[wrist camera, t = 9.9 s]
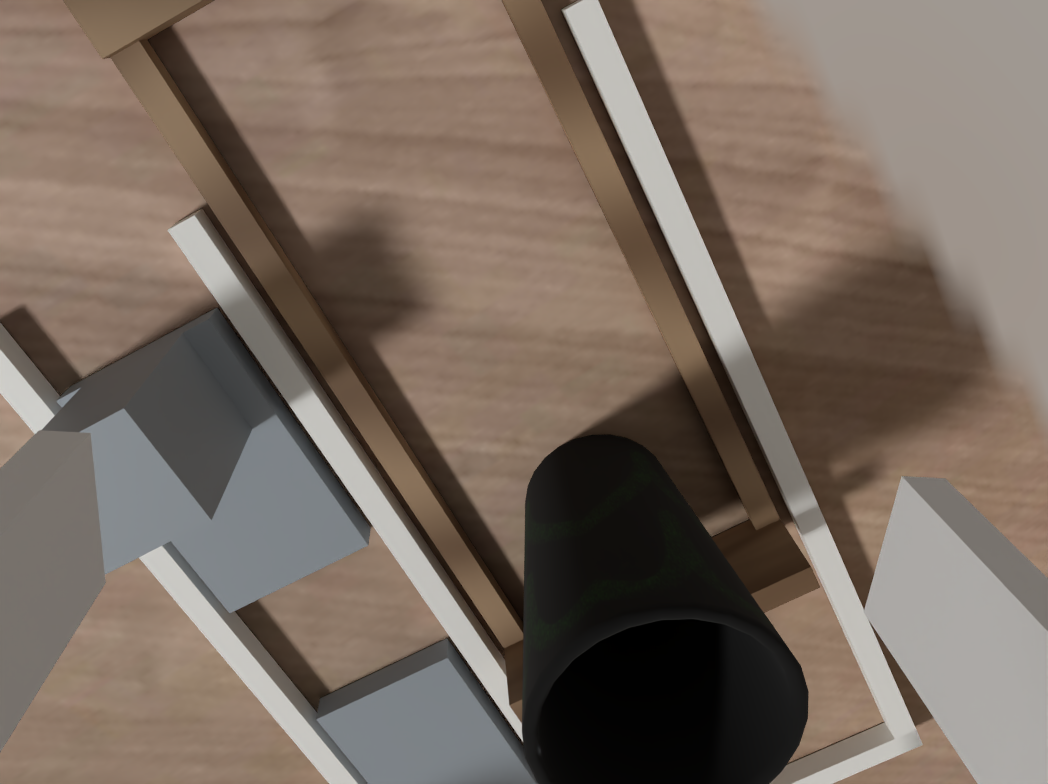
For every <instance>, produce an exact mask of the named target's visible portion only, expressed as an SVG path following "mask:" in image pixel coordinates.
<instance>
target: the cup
mask: <svg viewBox="0 0 1048 784" xmlns="http://www.w3.org/2000/svg"><path fill="white" fill-rule="evenodd" d="M807 719H808V688H807V685H806V682H805V678H804V675H803V672H802V668H801V666H800V664H799V663H798V661H797V660H796V658H795V657H794V655H793V654H792V653H791V651H790V650H789V648H788V647H787V645H786V644H785V642H784V641H783V640H782V638H781V637H780V635H779V634H778V632H777V631H776V629H775V628H774V627H773V625H772V624H771V622H770V621H769V619H768V618H767V617H766V615H765V614H764V612H763V611H762V609H761V608H760V607H759V605H758V604H757V602H756V601H755V599H754V598H753V596H752V595H751V594H750V592H749V591H748V589H747V588H746V586H745V585H744V584H743V582H742V581H741V579H740V578H739V576H738V575H737V574H736V572H735V571H734V569H733V568H732V566H731V565H730V563H729V562H728V561H727V559H726V558H725V556H724V555H723V553H722V552H721V551H720V549H719V548H718V546H717V545H716V543H715V542H714V540H713V539H712V538H711V536H710V535H709V533H708V532H707V530H706V529H705V528H704V526H703V525H702V523H701V522H700V520H699V519H698V518H697V516H696V515H695V513H694V512H693V510H692V509H691V507H690V506H689V505H688V503H687V502H686V500H685V499H684V497H683V496H682V495H681V493H680V492H679V490H678V489H677V487H676V486H675V484H674V483H673V482H672V480H671V479H670V477H669V476H668V474H667V473H666V472H665V470H664V469H663V467H662V466H661V464H660V463H659V462H658V460H657V459H656V457H655V456H654V455H653V454H652V453H651V452H649V451H648V450H647V449H646V448H645V447H643V446H642V445H640V444H638V443H636V442H634V441H632V440H630V439H628V438H623V437H618V436H614V435H591V436H587V437H582V438H578V439H574V440H572V441H570V442H568V443H566V444H564V445H562V446H560V447H558V448H557V449H556V450H554V451H553V452H552V453H551V454H549V455H548V456H547V457H546V458H545V459H544V460H543V461H542V462H541V464H540V465H539V466H538V467H537V469H536V470H535V471H534V474H533V476H532V478H531V480H530V482H529V485H528V488H527V495H526V501H525V561H524V624H523V687H522V737H523V744H524V752H525V759H526V761H527V763H528V765H529V767H530V769H531V771H532V773H533V775H534V777H535V779H536V781H537V783H538V784H770V783H771V782H772V781H773V780H774V779H775V778H776V777H777V776H778V775H779V774H780V773H781V772H782V771H783V769H784V768H785V766H786V765H787V763H788V761H789V760H790V758H791V757H792V755H793V754H794V752H795V751H796V749H797V747H798V746H799V744H800V741H801V738H802V735H803V732H804V728H805V725H806V722H807Z"/></svg>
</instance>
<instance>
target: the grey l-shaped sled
mask: <svg viewBox="0 0 1048 784" xmlns="http://www.w3.org/2000/svg"><path fill="white" fill-rule="evenodd" d="M57 403H58V404H59V405H60V406H61V407H62V408H61V410H60V411H59V412H58V413H57V414H56V415H55V416H54V417H53V418H52V419H51V420H50V421H49V422H48V423H47V425H46V426H45V427H44V428H43V429H42V430H44V431H63V432H82V433H91V442H92V452H93V462H94V472H95V482H96V492H97V502H98V512H99V522H100V532H101V542H102V552H103V562H104V572H105V574H107V573H109V572H111V571H113V570H115V569H117V568H119V567H121V566H123V565H125V564H127V563H129V562H131V561H133V560H135V559H137V558H139V557H141V556H143V555H145V554H146V553H148V552H150V551H152V550H154V549H156V548H158V547H160V546H162V545H164V544H166V543H168V542H170V541H171V542H172V543H173V545H174V546H175V547H176V548H177V550H178V551H179V552H180V553H181V554H182V556H183V557H184V558H185V559H186V561H187V562H188V563H189V564H190V566H191V567H192V568H193V569H194V570H195V572H196V573H197V574H198V575H199V577H200V578H201V579H202V580H203V581H204V583H205V584H206V585H207V586H208V588H209V589H210V590H211V591H212V592H213V594H214V595H215V596H216V597H217V599H218V600H219V601H220V602H221V603H222V605H223V606H224V607H225V608H226V610H227V611H228V612H229V613H232V612H234V611H236V610H238V609H240V608H242V607H244V606H246V605H248V604H250V603H252V602H254V601H256V600H258V599H260V598H262V597H264V596H266V595H268V594H270V593H272V592H274V591H276V590H278V589H280V588H282V587H285V586H287V585H289V584H291V583H293V582H295V581H297V580H299V579H301V578H303V577H305V576H307V575H309V574H311V573H313V572H315V571H317V570H319V569H321V568H323V567H325V566H327V565H329V564H331V563H333V562H335V561H337V560H339V559H341V558H343V557H345V556H348V555H350V554H352V553H354V552H356V551H358V550H360V549H362V548H364V547H366V546H368V543H369V536H370V529H371V528H370V526H369V525H368V524H367V522H366V521H365V519H364V518H363V516H362V515H361V514H360V512H359V511H358V509H357V508H356V506H355V505H354V503H353V502H352V501H351V499H350V498H349V496H348V495H347V493H346V492H345V491H344V489H343V488H342V486H341V485H340V483H339V482H338V480H337V479H336V478H335V476H334V475H333V473H332V472H331V470H330V469H329V468H328V466H327V465H326V463H325V462H324V460H323V459H322V457H321V456H320V455H319V453H318V452H317V450H316V449H315V447H314V446H313V445H312V443H311V442H310V440H309V439H308V437H307V436H306V435H305V433H304V432H303V430H302V429H301V427H300V426H299V424H298V423H297V422H296V420H295V419H294V417H293V416H292V414H291V413H290V412H289V410H288V409H287V407H286V406H285V404H284V403H283V401H282V400H281V399H280V397H279V396H278V394H277V393H276V391H275V390H274V389H273V387H272V386H271V384H270V383H269V381H268V380H267V378H266V377H265V376H264V374H263V373H262V371H261V370H260V368H259V367H258V366H257V364H256V363H255V361H254V360H253V358H252V357H251V356H250V354H249V353H248V351H247V350H246V348H245V347H244V345H243V344H242V343H241V341H240V340H239V338H238V337H237V335H236V334H235V333H234V331H233V330H232V328H231V327H230V325H229V324H228V322H227V321H226V320H225V318H224V317H223V315H222V314H221V312H220V311H219V310H218V308H215V309H213V310H211V311H210V312H208V313H206V314H204V315H202V316H200V317H198V318H197V319H195V320H193V321H191V322H189V323H187V324H185V325H184V326H182V327H180V328H178V329H176V330H174V331H172V332H171V333H169V334H167V335H165V336H163V337H161V338H159V339H158V340H156V341H154V342H152V343H150V344H148V345H146V346H145V347H143V348H141V349H139V350H137V351H135V352H133V353H132V354H130V355H128V356H126V357H124V358H122V359H120V360H119V361H117V362H115V363H113V364H111V365H109V366H107V367H106V368H104V369H102V370H100V371H98V372H96V373H94V374H93V375H91V376H89V377H87V378H85V379H83V380H81V381H80V382H78V383H76V384H74V385H72V386H70V387H69V388H68V389H67V390H66V391H65V392H64V393H63V394H62V395H61V396H60V397H59V398H58V399H57Z"/></svg>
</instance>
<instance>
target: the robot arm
mask: <svg viewBox="0 0 1048 784" xmlns="http://www.w3.org/2000/svg"><path fill="white" fill-rule="evenodd" d="M105 583H106V582H105V572H104V562H103V552H102V542H101V532H100V522H99V512H98V502H97V492H96V482H95V472H94V462H93V452H92V442H91V433H82V432H63V431H44V430H39V431H38V432H37V433H36V434H35V435H34V436H33V437H32V438H31V439H30V440H29V441H28V442H27V443H26V444H25V445H24V446H23V447H22V448H21V449H20V450H19V451H18V452H17V453H16V454H15V455H14V456H13V457H12V458H11V459H10V460H9V461H8V462H6V463H5V464H4V465H3V466H2V467H1V468H0V752H1V750H2V749H3V747H4V745H5V744H6V742H7V741H8V739H9V737H10V736H11V734H12V733H13V731H14V729H15V728H16V726H17V725H18V723H19V721H20V720H21V718H22V716H23V715H24V713H25V712H26V710H27V708H28V707H29V705H30V704H31V702H32V700H33V699H34V697H35V696H36V694H37V692H38V691H39V689H40V688H41V686H42V684H43V683H44V681H45V679H46V678H47V676H48V675H49V673H50V671H51V670H52V668H53V667H54V665H55V663H56V662H57V660H58V659H59V657H60V655H61V654H62V652H63V651H64V649H65V647H66V646H67V644H68V643H69V641H70V639H71V638H72V636H73V634H74V633H75V631H76V630H77V628H78V626H79V625H80V623H81V622H82V620H83V618H84V617H85V615H86V614H87V612H88V610H89V609H90V607H91V606H92V604H93V602H94V601H95V599H96V597H97V596H98V594H99V593H100V591H101V589H102V588H103V586H104V585H105ZM864 614H865V615H866V617H867V618H868V620H869V621H870V623H871V624H872V626H873V627H874V629H875V630H876V632H877V633H878V635H879V636H880V638H881V639H882V641H883V642H884V644H885V645H886V647H887V648H888V650H889V651H890V653H891V654H892V656H893V657H894V659H895V660H896V662H897V663H898V665H899V666H900V668H901V669H902V671H903V672H904V674H905V675H906V677H907V678H908V680H909V681H910V683H911V684H912V686H913V687H914V689H915V690H916V692H917V693H918V695H919V696H920V698H921V699H922V701H923V702H924V704H925V705H926V707H927V708H928V710H929V711H930V713H931V714H932V716H933V717H934V719H935V720H936V722H937V723H938V725H939V726H940V728H941V729H942V731H943V732H944V734H945V735H946V737H947V738H948V740H949V741H950V743H951V744H952V746H953V747H954V749H955V750H956V752H957V753H958V755H959V756H960V758H961V759H962V761H963V762H964V764H965V765H966V767H967V768H968V770H969V771H970V773H971V774H972V776H973V777H974V779H975V780H976V782H977V783H978V784H1048V578H1047V577H1046V576H1045V575H1044V574H1043V573H1042V572H1041V571H1040V570H1039V569H1038V568H1037V567H1036V566H1035V565H1034V564H1032V563H1031V562H1030V561H1029V560H1028V559H1027V558H1026V557H1025V556H1024V555H1023V554H1022V553H1021V552H1020V551H1019V550H1018V549H1017V548H1016V547H1015V546H1014V545H1013V544H1012V543H1011V542H1010V541H1009V540H1008V539H1007V538H1006V537H1005V536H1004V535H1003V534H1002V533H1001V532H1000V531H999V530H998V529H997V528H995V527H994V526H993V525H992V524H991V523H990V522H989V521H988V520H987V519H986V518H985V517H984V516H983V515H982V514H981V513H980V512H979V511H978V510H977V509H976V508H975V507H974V506H973V505H972V504H971V503H970V502H969V501H968V500H967V499H966V498H965V497H964V496H963V495H962V494H961V493H960V492H958V491H957V490H956V489H955V488H954V487H953V486H952V485H951V484H950V483H949V482H948V481H947V480H946V479H945V478H926V477H908V476H902V477H901V481H900V484H899V488H898V491H897V495H896V498H895V502H894V506H893V509H892V513H891V516H890V520H889V523H888V527H887V531H886V534H885V538H884V541H883V545H882V548H881V552H880V556H879V559H878V563H877V566H876V570H875V573H874V577H873V581H872V584H871V588H870V591H869V595H868V598H867V602H866V606H865V609H864Z"/></svg>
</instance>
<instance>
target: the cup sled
mask: <svg viewBox="0 0 1048 784" xmlns="http://www.w3.org/2000/svg"><path fill="white" fill-rule="evenodd" d="M63 1H64V3H65V4H66V6H67V7H68V9H69V10H70V12H71V13H72V15H73V16H74V18H75V19H76V21H77V22H78V24H79V25H80V27H81V28H82V30H83V31H84V33H85V34H86V36H87V37H88V39H89V40H90V42H91V43H92V44H93V46H94V47H95V49H96V50H97V52H98V53H99V55H100V56H101V58H102V59H105V58H111V59H112V61H113V62H114V64H115V65H116V67H117V68H118V70H119V71H120V73H121V74H122V76H123V77H124V79H125V80H126V82H127V83H128V85H129V86H130V88H131V89H132V91H133V92H134V94H135V95H136V97H137V98H138V100H139V101H140V103H141V104H142V106H143V107H144V109H145V110H146V112H147V113H148V115H149V116H150V118H151V119H152V121H153V122H154V124H155V125H156V127H157V128H158V130H159V131H160V133H161V134H162V136H163V137H164V139H165V140H166V142H167V143H168V145H169V146H170V148H171V149H172V151H173V152H174V154H175V155H176V157H177V158H178V160H179V161H180V163H181V164H182V166H183V167H184V169H185V170H186V172H187V173H188V175H189V176H190V178H191V179H192V181H193V182H194V184H195V185H196V187H197V188H198V190H199V191H200V193H201V194H202V196H203V197H204V199H205V200H206V202H207V203H208V205H209V206H210V208H211V209H212V211H213V212H214V214H215V215H216V217H217V218H218V220H219V221H220V223H221V224H222V226H223V227H224V229H225V230H226V232H227V233H228V235H229V236H230V238H231V239H232V241H233V242H234V244H235V245H236V247H237V248H238V250H239V251H240V253H241V254H242V256H243V257H244V259H245V260H246V262H247V263H248V265H249V266H250V268H251V269H252V271H253V272H254V274H255V275H256V277H257V278H258V280H259V281H260V283H261V284H262V286H263V287H264V289H265V290H266V292H267V293H268V295H269V296H270V298H271V299H272V301H273V302H274V304H275V305H276V307H277V308H278V310H279V311H280V313H281V314H282V316H283V317H284V319H285V320H286V322H287V323H288V325H289V326H290V328H291V329H292V331H293V332H294V334H295V335H296V337H297V338H298V340H299V341H300V343H301V344H302V346H303V347H304V349H305V350H306V352H307V353H308V355H309V356H310V358H311V359H312V361H313V362H314V364H315V365H316V367H317V368H318V370H319V371H320V373H321V374H322V376H323V377H324V379H325V380H326V382H327V383H328V385H329V387H330V388H331V390H332V391H333V393H334V394H335V396H336V397H337V399H338V400H339V402H340V403H341V405H342V406H343V408H344V409H345V411H346V412H347V414H348V415H349V417H350V418H351V420H352V421H353V423H354V424H355V426H356V427H357V429H358V430H359V432H360V433H361V435H362V436H363V438H364V439H365V441H366V442H367V444H368V445H369V447H370V448H371V450H372V451H373V453H374V454H375V456H376V457H377V459H378V460H379V462H380V463H381V465H382V466H383V468H384V469H385V471H386V472H387V474H388V475H389V477H390V478H391V480H392V481H393V483H394V484H395V486H396V487H397V489H398V490H399V492H400V493H401V495H402V496H403V498H404V499H405V501H406V502H407V504H408V505H409V507H410V508H411V510H412V511H413V513H414V514H415V516H416V517H417V519H418V520H419V522H420V523H421V525H422V526H423V528H424V529H425V531H426V532H427V534H428V535H429V537H430V538H431V540H432V541H433V543H434V544H435V546H436V547H437V549H438V550H439V552H440V553H441V555H442V556H443V558H444V559H445V561H446V562H447V564H448V565H449V567H450V568H451V570H452V571H453V573H454V574H455V576H456V577H457V579H458V580H459V582H460V583H461V585H462V586H463V588H464V589H465V591H466V592H467V594H468V595H469V597H470V598H471V600H472V601H473V603H474V604H475V606H476V607H477V609H478V610H479V612H480V613H481V615H482V616H483V618H484V619H485V621H486V622H487V624H488V625H489V627H490V628H491V630H492V631H493V633H494V634H495V636H496V637H497V639H498V640H499V642H500V643H501V645H502V646H503V648H504V654H505V665H506V676H507V687H508V698H509V706H510V707H511V709H512V710H513V712H514V713H515V714H516V716H517V717H518V719H519V720H520V722H521V723H522V687H523V622H522V621H521V619H520V618H519V616H518V614H517V613H516V611H515V610H514V608H513V607H512V605H511V604H510V602H509V600H508V599H507V597H506V596H505V594H504V593H503V591H502V590H501V588H500V587H499V585H498V583H497V582H496V580H495V579H494V577H493V576H492V574H491V573H490V571H489V569H488V568H487V566H486V565H485V563H484V562H483V560H482V559H481V557H480V555H479V554H478V552H477V551H476V549H475V548H474V546H473V545H472V543H471V542H470V540H469V538H468V537H467V535H466V534H465V532H464V531H463V529H462V528H461V526H460V524H459V523H458V521H457V520H456V518H455V517H454V515H453V514H452V512H451V510H450V509H449V507H448V506H447V504H446V503H445V501H444V500H443V498H442V497H441V495H440V493H439V492H438V490H437V489H436V487H435V486H434V484H433V483H432V481H431V479H430V478H429V476H428V475H427V473H426V472H425V470H424V469H423V467H422V465H421V464H420V462H419V461H418V459H417V458H416V456H415V455H414V453H413V452H412V450H411V448H410V447H409V445H408V444H407V442H406V441H405V439H404V438H403V436H402V434H401V433H400V431H399V430H398V428H397V427H396V425H395V424H394V422H393V420H392V419H391V417H390V416H389V414H388V413H387V411H386V410H385V408H384V407H383V405H382V403H381V402H380V400H379V399H378V397H377V396H376V394H375V393H374V391H373V389H372V388H371V386H370V385H369V383H368V382H367V380H366V379H365V377H364V375H363V374H362V372H361V371H360V369H359V368H358V366H357V365H356V363H355V362H354V360H353V358H352V357H351V355H350V354H349V352H348V351H347V349H346V348H345V346H344V344H343V343H342V341H341V340H340V338H339V337H338V335H337V334H336V332H335V330H334V329H333V327H332V326H331V324H330V323H329V321H328V320H327V318H326V317H325V315H324V313H323V312H322V310H321V309H320V307H319V306H318V304H317V303H316V301H315V299H314V298H313V296H312V295H311V293H310V292H309V290H308V289H307V287H306V285H305V284H304V282H303V281H302V279H301V278H300V276H299V275H298V273H297V271H296V270H295V268H294V267H293V265H292V264H291V262H290V261H289V259H288V258H287V256H286V254H285V253H284V251H283V250H282V248H281V247H280V245H279V244H278V242H277V240H276V239H275V237H274V236H273V234H272V233H271V231H270V230H269V228H268V226H267V225H266V223H265V222H264V220H263V219H262V217H261V216H260V214H259V213H258V211H257V209H256V208H255V206H254V205H253V203H252V202H251V200H250V199H249V197H248V195H247V194H246V192H245V191H244V189H243V188H242V186H241V185H240V183H239V181H238V180H237V178H236V177H235V175H234V174H233V172H232V171H231V169H230V168H229V166H228V164H227V163H226V161H225V160H224V158H223V157H222V155H221V154H220V152H219V150H218V149H217V147H216V146H215V144H214V143H213V141H212V140H211V138H210V136H209V135H208V133H207V132H206V130H205V129H204V127H203V126H202V124H201V123H200V121H199V119H198V118H197V116H196V115H195V113H194V112H193V110H192V109H191V107H190V105H189V104H188V102H187V101H186V99H185V98H184V96H183V95H182V93H181V91H180V90H179V88H178V87H177V85H176V84H175V82H174V81H173V79H172V78H171V76H170V74H169V73H168V71H167V70H166V68H165V67H164V65H163V64H162V62H161V60H160V59H159V57H158V56H157V54H156V53H155V51H154V50H153V48H152V46H151V45H150V43H149V42H148V40H147V39H149V38H151V37H152V36H154V35H156V34H158V33H159V32H161V31H163V30H164V29H166V28H168V27H170V26H171V25H173V24H175V23H176V22H178V21H180V20H182V19H183V18H185V17H187V16H188V15H190V14H192V13H194V12H195V11H197V10H199V9H200V8H202V7H204V6H206V5H207V4H209V3H211V2H212V1H214V0H63ZM502 2H503V4H504V6H505V8H506V10H507V13H508V15H509V17H510V19H511V21H512V23H513V25H514V27H515V29H516V31H517V33H518V36H519V38H520V40H521V42H522V44H523V46H524V48H525V50H526V52H527V54H528V56H529V59H530V61H531V63H532V65H533V67H534V69H535V71H536V73H537V75H538V77H539V79H540V82H541V84H542V86H543V88H544V90H545V92H546V94H547V96H548V98H549V100H550V102H551V105H552V107H553V109H554V111H555V113H556V115H557V117H558V119H559V121H560V123H561V125H562V128H563V130H564V132H565V134H566V136H567V138H568V140H569V142H570V144H571V146H572V148H573V151H574V153H575V155H576V157H577V159H578V161H579V163H580V165H581V167H582V169H583V171H584V174H585V176H586V178H587V180H588V182H589V184H590V186H591V188H592V190H593V192H594V194H595V197H596V199H597V201H598V203H599V205H600V207H601V209H602V211H603V213H604V215H605V217H606V220H607V222H608V224H609V226H610V228H611V230H612V232H613V234H614V236H615V238H616V240H617V243H618V245H619V247H620V249H621V251H622V253H623V255H624V257H625V259H626V261H627V263H628V266H629V268H630V270H631V272H632V274H633V276H634V278H635V280H636V282H637V284H638V286H639V289H640V291H641V293H642V295H643V297H644V299H645V301H646V303H647V305H648V307H649V309H650V312H651V314H652V316H653V318H654V320H655V322H656V324H657V326H658V328H659V330H660V332H661V335H662V337H663V339H664V341H665V343H666V345H667V347H668V349H669V351H670V353H671V355H672V358H673V360H674V362H675V364H676V366H677V368H678V370H679V372H680V374H681V376H682V378H683V381H684V383H685V385H686V387H687V389H688V391H689V393H690V395H691V397H692V399H693V401H694V404H695V406H696V408H697V410H698V412H699V414H700V416H701V418H702V420H703V422H704V424H705V427H706V429H707V431H708V433H709V435H710V437H711V439H712V441H713V443H714V445H715V447H716V450H717V452H718V454H719V456H720V458H721V460H722V462H723V464H724V466H725V468H726V470H727V473H728V475H729V477H730V479H731V481H732V483H733V485H734V487H735V489H736V491H737V493H738V496H739V498H740V500H741V502H742V504H743V506H744V508H745V510H746V512H747V514H748V516H749V519H750V520H748V521H746V522H744V523H742V524H740V525H737V526H735V527H733V528H731V529H729V530H727V531H725V532H723V533H720V534H718V535H716V536H714V537H712V539H713V540H714V542H715V543H716V545H717V546H718V548H719V549H720V551H721V552H722V553H723V555H724V556H725V558H726V559H727V561H728V562H729V563H730V565H731V566H732V568H733V569H734V571H735V572H736V574H737V575H738V576H739V578H740V579H741V581H742V582H743V584H744V585H745V586H746V588H747V589H748V591H749V592H750V594H751V595H752V596H753V598H754V599H755V601H756V602H757V604H758V605H759V607H760V608H761V609H762V611H763V612H764V613H765V612H767V611H769V610H771V609H774V608H776V607H778V606H780V605H782V604H784V603H787V602H789V601H791V600H793V599H795V598H798V597H800V596H802V595H804V594H806V593H809V592H811V591H813V590H815V589H817V588H820V586H819V584H818V581H817V579H816V577H815V575H814V573H813V570H812V568H811V566H810V565H809V563H808V562H807V560H806V559H805V557H804V555H803V554H802V552H801V551H800V549H799V548H798V546H797V545H796V543H795V541H794V540H793V538H792V537H791V535H790V534H789V532H788V531H787V529H786V527H785V526H784V524H783V523H782V521H781V520H780V518H779V516H778V513H777V511H776V509H775V507H774V505H773V503H772V500H771V498H770V496H769V494H768V492H767V490H766V487H765V485H764V483H763V481H762V479H761V476H760V474H759V472H758V470H757V468H756V466H755V463H754V461H753V459H752V457H751V455H750V453H749V450H748V448H747V446H746V444H745V442H744V440H743V437H742V435H741V433H740V431H739V429H738V427H737V424H736V422H735V420H734V418H733V416H732V414H731V411H730V409H729V407H728V405H727V403H726V401H725V398H724V396H723V394H722V392H721V390H720V388H719V385H718V383H717V381H716V379H715V377H714V375H713V372H712V370H711V368H710V366H709V364H708V362H707V359H706V357H705V355H704V353H703V351H702V349H701V346H700V344H699V342H698V340H697V338H696V336H695V333H694V331H693V329H692V327H691V325H690V323H689V320H688V318H687V316H686V314H685V312H684V310H683V307H682V305H681V303H680V301H679V299H678V297H677V294H676V292H675V290H674V288H673V286H672V283H671V281H670V279H669V277H668V275H667V273H666V270H665V268H664V266H663V264H662V262H661V260H660V257H659V255H658V253H657V251H656V249H655V247H654V244H653V242H652V240H651V238H650V236H649V234H648V231H647V229H646V227H645V225H644V223H643V221H642V218H641V216H640V214H639V212H638V210H637V208H636V205H635V203H634V201H633V199H632V197H631V195H630V192H629V190H628V188H627V186H626V184H625V182H624V179H623V177H622V175H621V173H620V171H619V169H618V166H617V164H616V162H615V160H614V158H613V156H612V153H611V151H610V149H609V147H608V145H607V143H606V140H605V138H604V136H603V134H602V132H601V130H600V127H599V125H598V123H597V121H596V119H595V117H594V114H593V112H592V110H591V108H590V106H589V103H588V101H587V99H586V97H585V95H584V93H583V90H582V88H581V86H580V84H579V82H578V80H577V77H576V75H575V73H574V71H573V69H572V67H571V64H570V62H569V60H568V58H567V56H566V54H565V51H564V49H563V47H562V45H561V43H560V41H559V38H558V36H557V34H556V32H555V30H554V28H553V25H552V23H551V21H550V19H549V17H548V15H547V12H546V10H545V8H544V6H543V4H542V2H541V0H502Z"/></svg>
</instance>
